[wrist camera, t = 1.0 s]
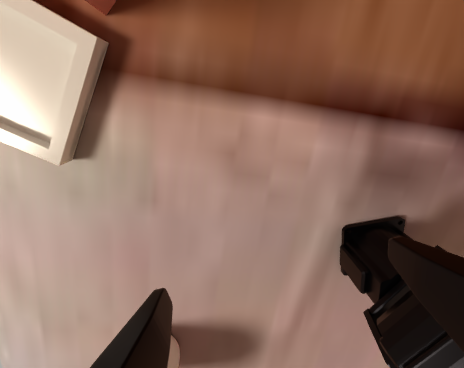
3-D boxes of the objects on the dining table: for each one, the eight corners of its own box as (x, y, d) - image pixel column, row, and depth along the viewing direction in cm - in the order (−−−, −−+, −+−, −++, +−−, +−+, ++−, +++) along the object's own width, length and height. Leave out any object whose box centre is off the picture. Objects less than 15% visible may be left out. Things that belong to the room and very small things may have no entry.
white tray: (109, 43, 17) (97, 37, 15) (72, 159, 20) (59, 165, 18) (-50, -47, 14) (-85, -66, 13) (-64, 101, 17) (-94, 101, 16)
